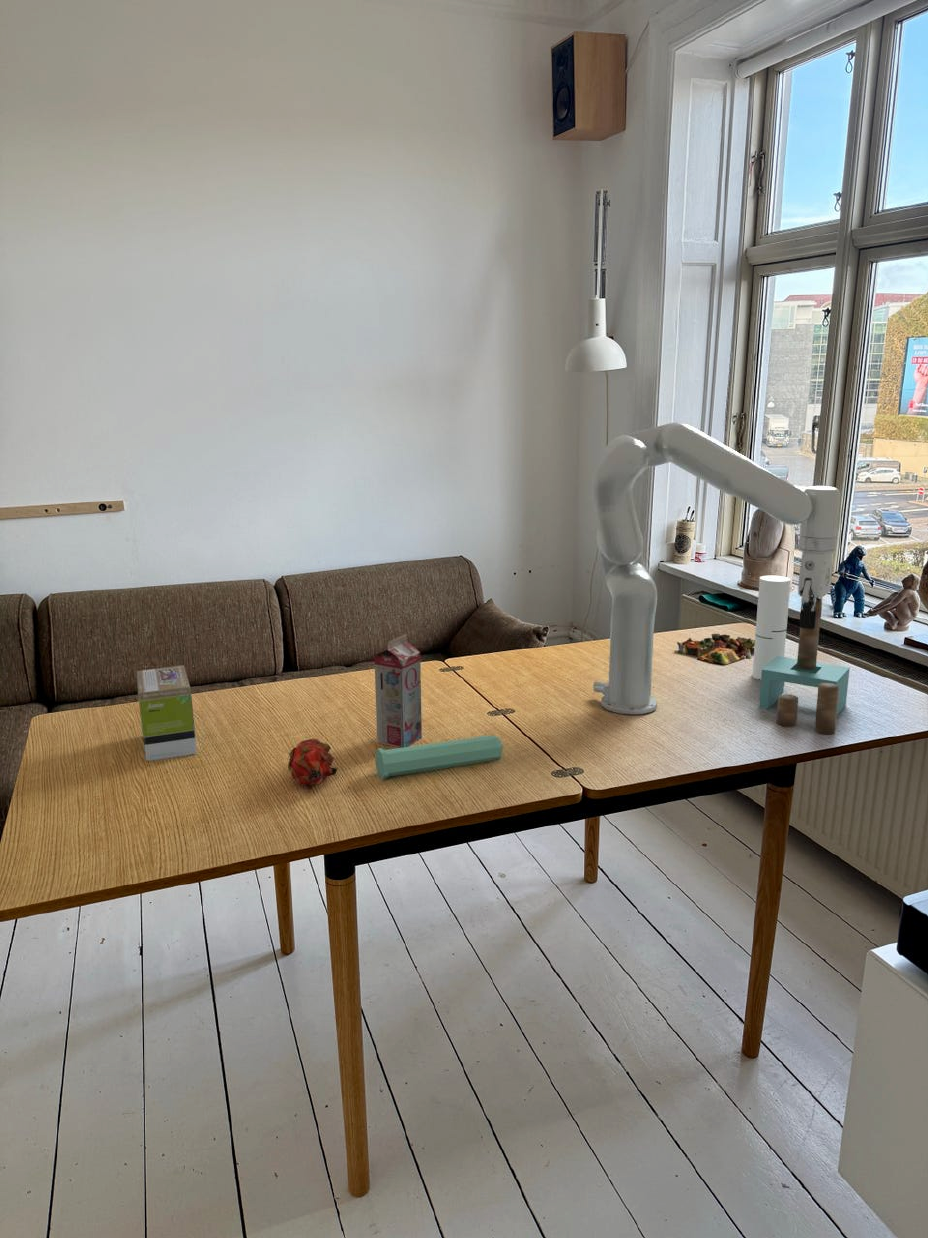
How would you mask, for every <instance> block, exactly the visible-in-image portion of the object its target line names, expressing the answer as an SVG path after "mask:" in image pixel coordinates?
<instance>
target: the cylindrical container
mask: <svg viewBox="0 0 928 1238" xmlns="http://www.w3.org/2000/svg"><path fill="white" fill-rule="evenodd" d="M791 579H792V578H790V577H788V576H782V575H772V574H771V575H762V576H759V583H758V597H757V598H758V599H757V606H756V607H757V610H756V611H757V612H756V621H755V635H754V640H755V646H754V647H753V648H754V649H753V663H752V672H751V673H752V678H754V679H755V678H757V679H756V680H758V679H761V676H762V669H763V668H764V667H765V666H767V665H768V664H769V663H770V662H771V661H772V660H774V659H775V658H776V657H777V656H780V657H785V651H786V641H787V627H788V617H789V616H788V615H789V606H790V605H789V603H790V593H791V591H790V590H791V581H792V580H791Z"/></svg>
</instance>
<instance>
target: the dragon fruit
mask: <svg viewBox="0 0 928 1238" xmlns="http://www.w3.org/2000/svg"><path fill="white" fill-rule="evenodd" d="M330 750H331V746H330V745H329V744H328V743H324V742H323V741H322V742H321V741H320V739H318V738H309V739H306V740H301V741H300V742H299V743H298V744H297V746H296V747H293V749H291V751H290V752H289V753H288V756H289V762H288V765H287V770H288V772H290V775H291V777H292V779H293V780H297V782H298V783H299V784H300V785H301V786H302V787H303V788H305V789H308V790H309V789H311V787H313V785H316V786H319V785H321V784H322V783H324V781H326V780H327V778H328V777H331V776H335V775H336V774H337V772H338V767H332V766H333V762H334V759H335V757H334V756H333V755H332V754H331V753H330Z"/></svg>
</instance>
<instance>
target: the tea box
mask: <svg viewBox="0 0 928 1238" xmlns="http://www.w3.org/2000/svg"><path fill="white" fill-rule="evenodd" d="M136 684H137V695H138V704H139V705H138V706H139V707H138V708H139V714H140V722H141V723H140V724H141V730H142V731H141V732H142V739H143V746H144V752H145V754H144V755H145V761H147V762H153V761H158V760H159V761H161V760H166V759H173V758H179V757H186V756H193V755H196V754H198V753H197V752H198V751H197V749H198V748H197V741H196V739H197V738H196V728H195V720H194V718H195V717H194V709H193V707H194V706H193V699H192V691H191V689H192V688H191V685H190V681H189V678H188V676H187V671H186V668H185V665H183V664H182V665H175V666H166V667H160V668H151V669H143V670H136Z"/></svg>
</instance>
